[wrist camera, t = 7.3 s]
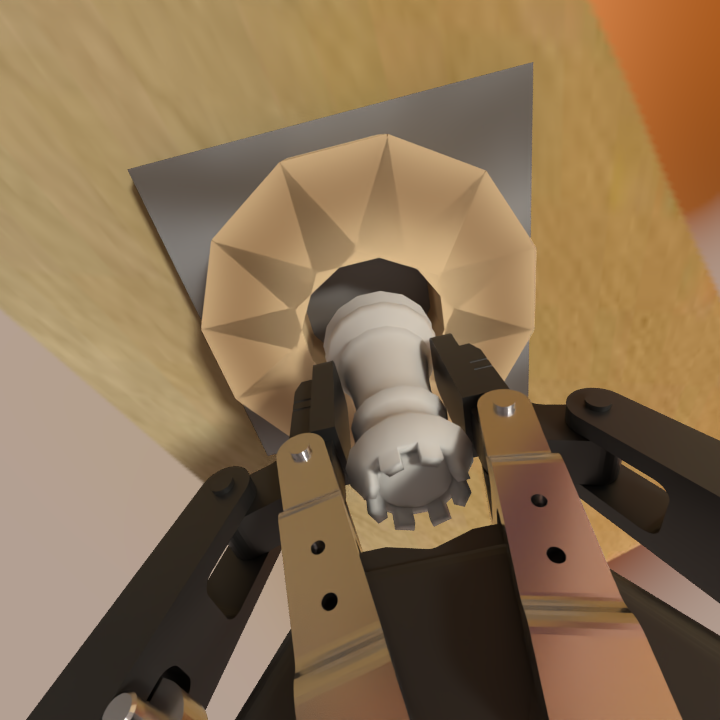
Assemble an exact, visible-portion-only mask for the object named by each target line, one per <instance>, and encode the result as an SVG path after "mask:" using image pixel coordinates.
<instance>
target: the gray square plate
mask: <svg viewBox="0 0 720 720" xmlns="http://www.w3.org/2000/svg"><path fill="white" fill-rule="evenodd" d="M532 105H533V62H532V63H528V64H524V65H520V66H517V67H513V68H509V69H505V70H502V71H498V72H494V73H490V74H486V75H483V76H479V77H475V78H471V79H468V80H464V81H460V82H456V83H452V84H449V85H445V86H441V87H437V88H434V89H430V90H426V91H422V92H418V93H415V94H411V95H407V96H403V97H400V98H396V99H392V100H388V101H384V102H381V103H377V104H373V105H369V106H366V107H362V108H358V109H354V110H350V111H347V112H343V113H339V114H335V115H332V116H328V117H324V118H320V119H316V120H313V121H309V122H305V123H301V124H298V125H294V126H290V127H286V128H282V129H279V130H275V131H271V132H267V133H264V134H260V135H256V136H252V137H248V138H245V139H241V140H237V141H233V142H230V143H226V144H222V145H218V146H214V147H211V148H207V149H203V150H199V151H196V152H192V153H188V154H184V155H180V156H177V157H173V158H169V159H165V160H162V161H158V162H154V163H150V164H146V165H143V166H139V167H135V168H131V169H128V172H129V174H130V176H131V178H132V180H133V182H134V184H135V186H136V188H137V190H138V192H139V194H140V196H141V198H142V200H143V202H144V204H145V206H146V208H147V210H148V213H149V215H150V217H151V219H152V221H153V223H154V225H155V227H156V229H157V231H158V233H159V235H160V237H161V239H162V241H163V243H164V245H165V247H166V249H167V251H168V253H169V255H170V257H171V259H172V261H173V263H174V265H175V268H176V270H177V272H178V274H179V276H180V278H181V280H182V282H183V284H184V286H185V288H186V290H187V292H188V294H189V296H190V298H191V300H192V302H193V304H194V306H195V308H196V310H197V312H198V314H199V316H200V318H201V321H202V325H201V330H202V332H203V334H204V336H205V338H206V340H207V342H208V344H209V346H210V348H211V350H212V352H213V354H214V356H215V358H216V360H217V362H218V364H219V366H220V368H221V370H222V372H223V374H224V376H225V378H226V380H227V382H228V384H229V386H230V388H231V390H232V392H233V394H234V396H235V399H237V401H239V402H240V403H242V404H243V406H244V408H245V410H246V412H247V414H248V416H249V418H250V420H251V422H252V424H253V427H254V429H255V431H256V433H257V435H258V437H259V439H260V441H261V443H262V445H263V447H264V449H265V451H266V453H267V455H268V456H269V455H273V454H277V452H278V450H279V449H280V447H281V446H282V445H283V444H284V443H285V442H286V441H287V440H289V436H290V427H291V419H292V412H293V404H294V394H295V391H296V389H297V388H298V386H299V385H300V384H301V382H304V381H308V380H312V371H313V365H316V364H320V363H324V362H326V359H325V350H324V347H323V345H324V339H325V333H326V327H327V325H328V324H329V322H330V321H331V319H332V318H333V316H334V315H335V313H336V312H337V310H338V309H339V308H340V307H342V306H343V305H345V304H346V303H348V302H349V301H351V300H352V299H354V298H355V297H357V296H360V295H364V294H369V293H373V292H378V291H383V292H390V293H396V294H402V295H404V296H406V297H407V298H409V299H410V300H412V301H414V302H415V303H417V304H418V305H420V306H421V307H422V309H423V310H424V312H425V314H426V315H427V317H428V318H429V320H430V321H431V325H432V329H433V331H434V332H435V337H436V336H440V335H444V334H449V333H451V334H452V335H453V337H454V338H455V340H456V342H457V343H458V345H464V344H468V343H470V344H472V345H474V346H475V347H477V348H479V349H481V350H482V352H483V353H484V354H485V356H486V357H487V359H488V360H489V361H490V363H491V364H492V366H493V367H494V368H495V369H496V371H497V372H498V374H499V375H500V376H501V378H502V379H503V380H504V382H505V383H506V384H507V386H508V387H509V389H510V390H514V391H518V392H520V393H522V394H524V395H526V396H527V397H528V375H529V338H530V337H531V335H532V333H533V332H534V329H535V289H536V246H535V245H534V243H533V242H532V240H531V173H532ZM429 381H430V387H431V391H432V393H433V394H435V395H437V396H438V397H439V399H440V400H441V401H442V403H443V400H442V398H441V396H440V394H439V391H438V389H437V385H436V382H435V377H434V371H432V374H431V376H430V379H429ZM343 392H344V391H343ZM344 395H345V399H346V403H347V408H348V417H349V428H350V440H351V448H352V447H353V446H354V445H355V441H354V438H353V434H352V431H351V426H352V422H353V418H354V413H355V412H356V408H355V405H354V402H353V399H351V397H350V396H349V395H347V394H345V393H344ZM443 404H444V403H443ZM444 406H445V405H444ZM447 416H448V421H450V422H452V421H451V418H450V416H449V414H448V412H447Z"/></svg>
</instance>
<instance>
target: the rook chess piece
mask: <svg viewBox="0 0 720 720" xmlns="http://www.w3.org/2000/svg"><path fill="white" fill-rule="evenodd" d="M431 337H435V332H434V331H433V329H432V325H431V321H430V320H429V318H428V317H427V315H426V314H425V312H424V310H423V309H422V307H421V306H420V305H418V304H417V303H415V302H414V301H412V300H410V299H409V298H407V297H406V296H404V295H402V294H396V293H390V292H383V291H378V292H373V293H369V294H364V295H360V296H357V297H355V298H354V299H352V300H351V301H349V302H348V303H346V304H345V305H343V306H342V307H340V308H339V309H338V310H337V312H336V313H335V315H334V316H333V318H332V319H331V321H330V322H329V324H328V325H327V327H326V333H325V339H324V345H323V347H324V350H325V359H326V362H328V361H334V363H335V365H336V369H337V372H338V375H339V379H340V382H341V385H342V388H343V391H344V393H345V394H347V395H349V396H350V397H351V399H353V402H354V405H355V408H356V412H355V413H354V418H353V422H352V426H351V431H352V434H353V438H354V441H355V445H354V446H353V447H352V448H351V449H350V451H349V456H348V460H347V464H346V468H345V470H346V473H347V476H348V479H349V482H350V485H351V487H352V488H353V489H355V490H356V491H357V492H358V493H359V494H360V495H361V496H362V497H363V498H364V500H366V502H367V511H368V514H369V515H370V516H371V517H372V518H373V519H374V520H376V521H377V522H378V523H381V522H382V521H383V520H385V519H386V518H388V517H387V512H390V513H392V514H393V520H394V525H395V530H413V531H414V529H415V520H414V516H413V514H417V513H422V512H427V511H428V513H429V517H430V520H431V522H432V524H433V526H436V525H438V524H441V523H443V522H445V521H447V520H449V519H451V516H450V513H449V510H448V507H447V504H446V503H447V502H448V501H449V500H450V499H451V498H452V499H453V502H454V504H455V505H460V506H464V507H465V505H466V503H467V501H468V498H469V496H470V494H471V490H470V488H469V486H468V483H467V481H466V480H467V479H470V476H469V474H468V471H469V469H470V467H471V465H472V463H473V448H472V442H471V441H470V439H469V438H468V436H467V435H466V434H465V432H464V431H463V429H462V428H461V427H460V426H458V425H456V424H454V423H452V422H450V421H448V416H447V408H446V407H445V406H444V404H443V403H442V401H441V400H440V399H439V397H438V396H437V395H435V394H433V393H432V391H431V387H430V381H429V379H430V376H431V374H432V371H433V364H432V357H431V350H430V343H429V339H430V338H431Z"/></svg>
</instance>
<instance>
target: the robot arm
mask: <svg viewBox="0 0 720 720" xmlns="http://www.w3.org/2000/svg"><path fill="white" fill-rule="evenodd" d="M429 343H430V350H431V357H432V364H433V371H434V377H435V382H436V385H437V389H438V391H439V394H440V396H441V398H442V400H443V403H444V405H445V407H446V408H447V412H448V414H449V416H450V418H451V421H452V423H454V424H456V425H458V426H460V427H461V428H462V429H463V431H464V432H465V434H466V435H467V436H468V438H469V439H470V441H471V442H472V448H473V457H479V459H480V461H481V463H482V474H483V480H484V486H485V491H486V497H487V502H488V508H489V513H490V519H491V524H492V525H490V526H485V527H480V528H475V529H472V530H470V531H468V532H466V533H464V534H462V535H460V536H458V537H456V538H454V539H452V540H450V541H448V542H446V543H444V544H442V545H440V546H438V547H436V548H433V549H413V548H391V547H385V548H380V549H376V550H371V551H366V552H363V550H362V547H361V544H360V541H359V538H358V535H357V532H356V529H355V526H354V523H353V520H352V517H351V514H350V511H349V508H348V505H347V502H346V489H345V485H349V484H350V482H349V479H348V476H347V473H346V470H345V468H346V464H347V460H348V456H349V451H350V449H351V440H350V428H349V417H348V408H347V403H346V399H345V395H344V392H343V388H342V385H341V382H340V379H339V375H338V372H337V369H336V365H335V363H334V361H328V362H324V363H320V364H316V365H313V371H312V380H308V381H304V382H301V384H300V385H299V386H298V388H297V389H296V391H295V394H294V404H293V412H292V419H291V427H290V436H289V440H287V441H286V442H285V443H284V444H283V445H282V446H281V447H280V449H279V450H278V452H277V456H276V461H275V462H274V463H272V464H271V465H269V466H267V467H265V468H263V469H261V470H259V471H257V472H255V473H253V474H251V475H249V473H248V471H247V470H246V469H245V468H242V467H239V466H233V467H228V468H225V469H222V470H220V471H218V472H217V473H215V474H213V475H212V476H211V477H210V478H209V479H208V480H207V481H206V482H205V483H204V484H203V485H202V487H201V488H200V489H199V491H198V492H197V494H196V495H195V496H194V497H193V499H192V500H191V501H190V503H189V504H188V505H187V507H186V508H185V509H184V511H183V512H182V513H181V515H180V516H179V517H178V519H177V520H176V521H175V523H174V524H173V525H172V527H171V528H170V529H169V531H168V532H167V533H166V534H165V536H164V537H163V539H162V540H161V541H160V543H159V544H158V545H157V547H156V548H155V549H154V550H153V552H152V553H151V554H150V556H149V557H148V558H147V560H146V561H145V563H144V564H143V565H142V567H141V568H140V569H139V570H138V572H137V573H136V574H135V576H134V577H133V578H132V580H131V581H130V582H129V584H128V585H127V586H126V588H125V589H124V590H123V592H122V593H121V594H120V596H119V597H118V598H117V600H116V601H115V602H114V604H113V605H112V606H111V608H110V609H109V610H108V612H107V613H106V614H105V616H104V617H103V618H102V620H101V621H100V622H99V624H98V625H97V626H96V628H95V629H94V630H93V632H92V633H91V634H90V636H89V637H88V638H87V640H86V641H85V642H84V644H83V645H82V646H81V647H80V649H79V650H78V652H77V653H76V654H75V656H74V657H73V658H72V659H71V661H70V662H69V663H68V665H67V666H66V667H65V669H64V670H63V672H62V673H61V674H60V676H59V677H58V678H57V680H56V681H55V682H54V683H53V685H52V686H51V687H50V689H49V690H48V692H47V693H46V694H45V695H44V697H43V698H42V700H41V701H40V702H39V703H38V705H37V706H36V707H35V709H34V710H33V711H32V713H31V714H30V715H29V717H28V718H27V719H26V720H208V718H207V714H206V711H205V710H206V708H207V706H208V704H209V701H210V699H211V697H212V695H213V693H214V691H215V689H216V687H217V685H218V683H219V680H220V678H221V676H222V674H223V672H224V670H225V668H226V666H227V663H228V661H229V659H230V657H231V655H232V653H233V651H234V649H235V646H236V644H237V642H238V640H239V638H240V636H241V634H242V632H243V630H244V628H245V625H246V623H247V621H248V619H249V617H250V615H251V613H252V611H253V609H254V606H255V604H256V602H257V600H258V598H259V596H260V594H261V592H262V589H263V587H264V585H265V583H266V581H267V579H268V577H269V575H270V572H271V571H272V568H273V566H274V564H275V562H276V560H277V558H278V556H279V554H280V552H281V549H282V556H283V564H284V573H285V582H286V590H287V598H288V607H289V615H290V624H291V630H290V631H289V633H288V634H287V636H286V638H285V639H284V641H283V643H282V644H281V646H280V647H279V649H278V651H277V653H276V654H275V656H274V657H273V659H272V660H271V662H270V664H269V665H268V667H267V669H266V670H265V672H264V674H263V675H262V677H261V679H260V680H259V681H258V683H257V685H256V686H255V688H254V690H253V691H252V693H251V695H250V696H249V698H248V699H247V701H246V703H245V704H244V706H243V707H242V709H241V711H240V712H239V714H238V716H237V717H236V719H235V720H720V636H719V635H718V634H716V633H714V632H713V631H711V630H709V629H708V628H706V627H704V626H703V625H701V624H700V623H698V622H696V621H695V620H693V619H691V618H690V617H688V616H686V615H685V614H683V613H681V612H680V611H678V610H677V609H675V608H673V607H671V606H670V605H668V604H667V603H665V602H663V601H662V600H660V599H659V598H656V597H655V596H653V595H652V594H650V593H649V592H647V591H645V590H644V589H642V588H640V587H639V586H637V585H636V584H634V583H632V582H631V581H629V580H627V579H626V578H624V577H622V576H620V575H619V574H617V573H616V572H614V571H613V570H611V569H609V567H608V565H607V562H606V560H605V557H604V555H603V553H602V550H601V548H600V546H599V543H598V541H597V538H596V536H595V534H594V531H593V529H592V527H591V524H590V522H589V519H588V517H587V515H586V512H585V510H584V508H583V505H582V503H581V501H580V498H581V499H582V500H583V501H585V502H586V503H587V504H589V505H590V506H591V507H593V508H594V509H595V510H597V511H598V512H599V513H601V514H602V515H603V516H604V517H606V518H607V519H608V520H610V521H611V522H612V523H614V524H615V525H616V526H618V527H619V528H620V529H622V530H623V531H624V532H626V533H627V534H628V535H630V536H631V537H632V538H634V539H635V540H636V541H638V542H639V543H640V544H642V545H643V546H644V547H646V548H647V549H648V550H650V551H651V552H652V553H654V554H655V555H656V556H658V557H659V558H660V559H662V560H663V561H664V562H666V563H667V564H668V565H669V566H671V567H672V568H674V569H675V570H676V571H677V572H679V573H680V574H682V575H683V576H684V577H686V578H687V579H688V580H689V581H691V582H692V583H693V584H695V585H696V586H697V587H699V588H700V589H701V590H703V591H704V592H705V593H707V594H708V595H709V596H711V597H712V598H713V599H715V600H716V601H717V602H719V603H720V441H719V440H717V439H715V438H712V437H710V436H708V435H706V434H704V433H702V432H699V431H697V430H695V429H693V428H691V427H689V426H686V425H684V424H682V423H680V422H678V421H676V420H674V419H671V418H669V417H667V416H665V415H663V414H661V413H658V412H656V411H654V410H652V409H650V408H648V407H645V406H643V405H641V404H639V403H637V402H635V401H633V400H630V399H628V398H626V397H624V396H622V395H620V394H617V393H615V392H613V391H609V390H606V389H600V388H584V389H580V390H576V391H574V392H573V393H571V394H570V395H569V396H568V398H567V400H566V405H542V404H534V403H531V401H530V399H529V398H528V397H527V396H526V395H524V394H522V393H520V392H518V391H514V390H510V389H509V387H508V386H507V384H506V383H505V382H504V380H503V379H502V378H501V376H500V375H499V374H498V372H497V371H496V369H495V368H494V367H493V366H492V364H491V363H490V361H489V360H488V359H487V357H486V356H485V354H484V353H483V352H482V350H481V349H479V348H477V347H475V346H474V345H472V344H470V343H468V344H464V345H458V343H457V342H456V340H455V338H454V337H453V335H452V334H451V333H449V334H444V335H440V336H436V337H431V338H430V339H429ZM622 460H623V461H624V462H626V463H628V464H629V465H631V466H633V467H634V468H636V469H638V470H639V471H641V472H643V473H644V474H646V475H648V476H649V477H651V478H653V479H654V480H656V481H657V482H658V483H660V484H661V485H662V486H663V487H664V489H665V490H666V491H667V492H666V491H664V490H663V489H661V488H659V487H658V486H656V485H655V484H653V483H651V482H650V481H648V480H646V479H645V478H643V477H642V476H640V475H638V474H637V473H635V472H633V471H632V470H630V469H628V468H627V467H625V466H624V465H622V464H621V462H622ZM227 545H229V546H228V548H227V549H226V551H225V553H224V554H223V556H222V558H221V559H220V561H219V563H218V564H217V566H216V568H215V569H214V571H213V573H212V574H211V576H210V573H211V572H212V570H213V568H214V567H215V565H216V563H217V561H218V560H219V558H220V556H221V554H222V553H223V551H224V550H225V548H226V546H227ZM209 576H210V578H209ZM208 578H209V579H208Z"/></svg>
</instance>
